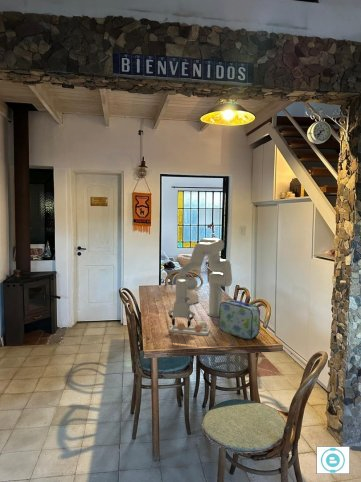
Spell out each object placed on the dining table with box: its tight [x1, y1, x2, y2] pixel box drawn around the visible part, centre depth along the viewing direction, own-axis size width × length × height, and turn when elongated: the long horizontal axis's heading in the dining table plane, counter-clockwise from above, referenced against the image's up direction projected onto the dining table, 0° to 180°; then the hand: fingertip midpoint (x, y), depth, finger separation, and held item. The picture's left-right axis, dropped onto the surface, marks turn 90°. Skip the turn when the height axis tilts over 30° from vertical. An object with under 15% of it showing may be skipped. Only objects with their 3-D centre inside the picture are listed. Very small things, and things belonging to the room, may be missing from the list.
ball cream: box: [199, 320, 208, 329], centre depth 214 cm, size 5×5×5 cm
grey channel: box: [168, 325, 211, 337], centre depth 208 cm, size 8×24×2 cm, turn 76°
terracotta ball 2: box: [194, 323, 202, 332], centre depth 207 cm, size 5×5×5 cm
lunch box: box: [218, 298, 261, 340], centre depth 205 cm, size 26×11×21 cm, turn 45°
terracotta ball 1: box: [176, 322, 186, 330], centre depth 209 cm, size 5×5×5 cm
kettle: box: [188, 286, 200, 305], centre depth 285 cm, size 20×21×18 cm
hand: (181, 326), depth 209 cm, fingers open, 9 cm apart
